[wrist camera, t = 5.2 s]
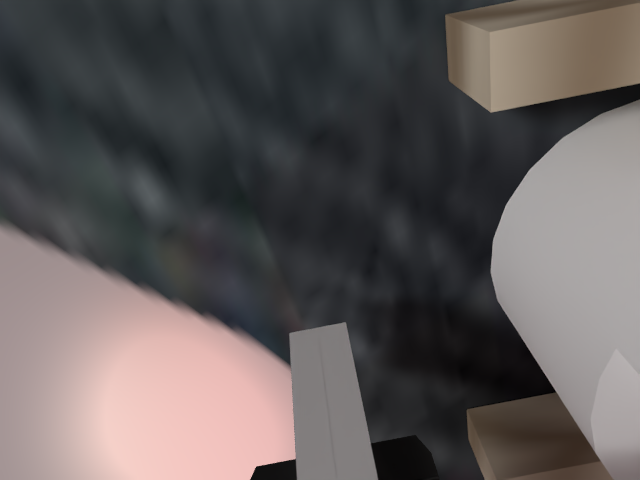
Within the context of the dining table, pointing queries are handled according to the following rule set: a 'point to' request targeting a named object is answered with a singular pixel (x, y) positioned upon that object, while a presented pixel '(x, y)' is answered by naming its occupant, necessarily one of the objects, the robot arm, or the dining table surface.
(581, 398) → the cylinder with rectangular tab
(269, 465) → the robot arm
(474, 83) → the bay
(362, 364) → the dining table surface
